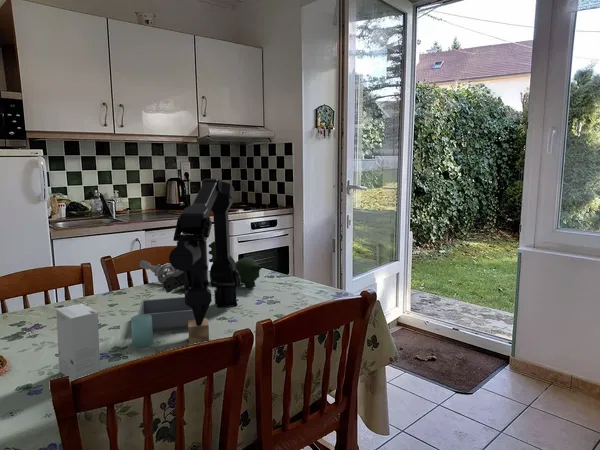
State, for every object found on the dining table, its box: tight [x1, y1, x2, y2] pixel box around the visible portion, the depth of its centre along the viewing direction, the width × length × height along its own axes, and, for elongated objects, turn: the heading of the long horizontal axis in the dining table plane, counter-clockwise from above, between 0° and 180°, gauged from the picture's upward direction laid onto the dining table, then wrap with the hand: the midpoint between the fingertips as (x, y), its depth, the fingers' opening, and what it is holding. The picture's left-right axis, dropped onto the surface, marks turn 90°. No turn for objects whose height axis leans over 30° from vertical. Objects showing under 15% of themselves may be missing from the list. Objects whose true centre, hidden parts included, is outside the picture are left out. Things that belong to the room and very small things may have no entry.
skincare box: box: [55, 302, 101, 381], centre depth 94 cm, size 8×6×15 cm
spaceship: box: [139, 259, 184, 288], centre depth 164 cm, size 8×35×8 cm
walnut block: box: [187, 317, 210, 345], centre depth 113 cm, size 5×5×5 cm
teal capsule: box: [130, 314, 154, 349], centre depth 111 cm, size 5×5×7 cm
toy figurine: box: [208, 240, 263, 290], centre depth 161 cm, size 10×19×26 cm
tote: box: [137, 296, 195, 332], centre depth 126 cm, size 17×13×5 cm
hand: (198, 319), depth 112 cm, fingers open, 9 cm apart
